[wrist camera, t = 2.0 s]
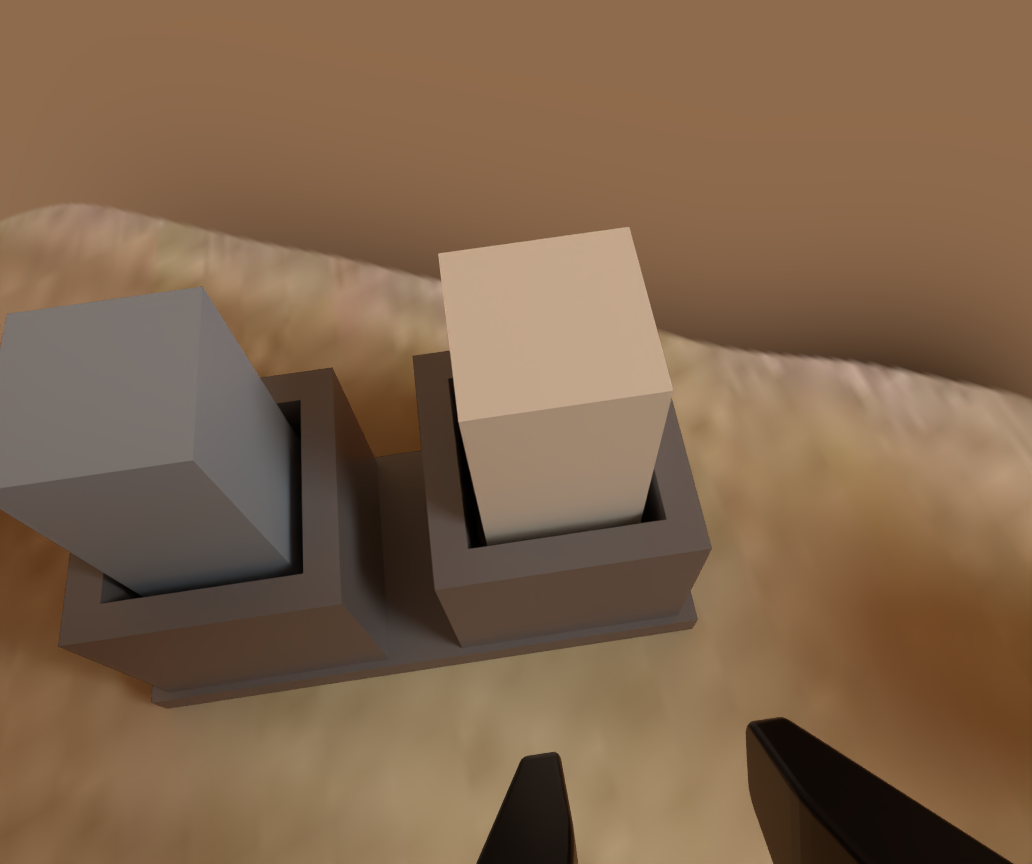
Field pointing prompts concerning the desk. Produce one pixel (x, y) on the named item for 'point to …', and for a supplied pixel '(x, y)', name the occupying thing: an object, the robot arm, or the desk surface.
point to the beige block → (556, 382)
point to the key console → (397, 569)
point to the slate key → (148, 444)
